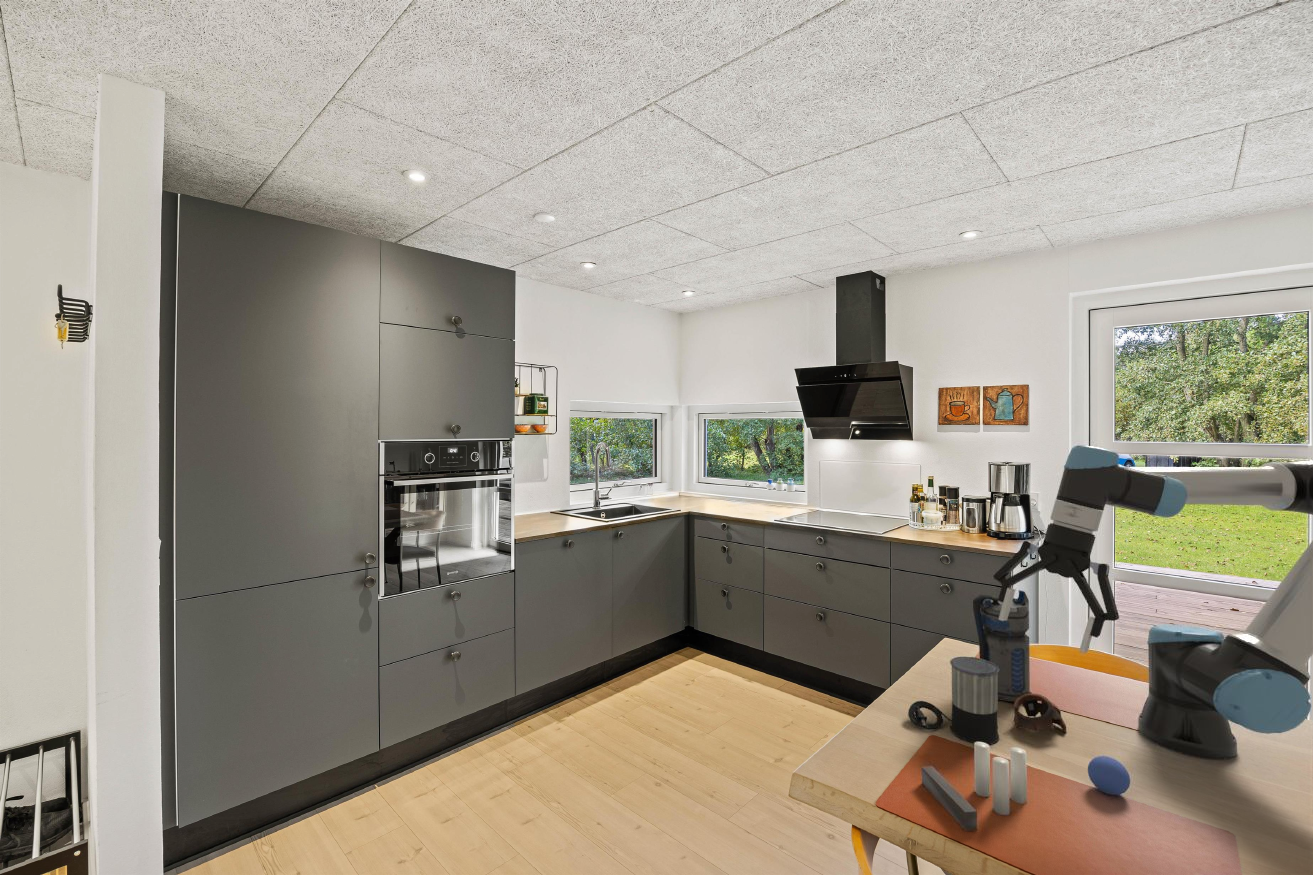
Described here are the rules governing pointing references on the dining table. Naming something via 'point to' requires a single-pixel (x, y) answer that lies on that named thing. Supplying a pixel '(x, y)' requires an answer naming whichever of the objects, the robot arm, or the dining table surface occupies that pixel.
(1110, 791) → the ball
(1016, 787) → the front pin
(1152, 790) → the dining table surface
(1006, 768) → the pin
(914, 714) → the milk frother
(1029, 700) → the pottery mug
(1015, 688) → the beverage bottle
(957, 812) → the back wall
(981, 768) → the pin
